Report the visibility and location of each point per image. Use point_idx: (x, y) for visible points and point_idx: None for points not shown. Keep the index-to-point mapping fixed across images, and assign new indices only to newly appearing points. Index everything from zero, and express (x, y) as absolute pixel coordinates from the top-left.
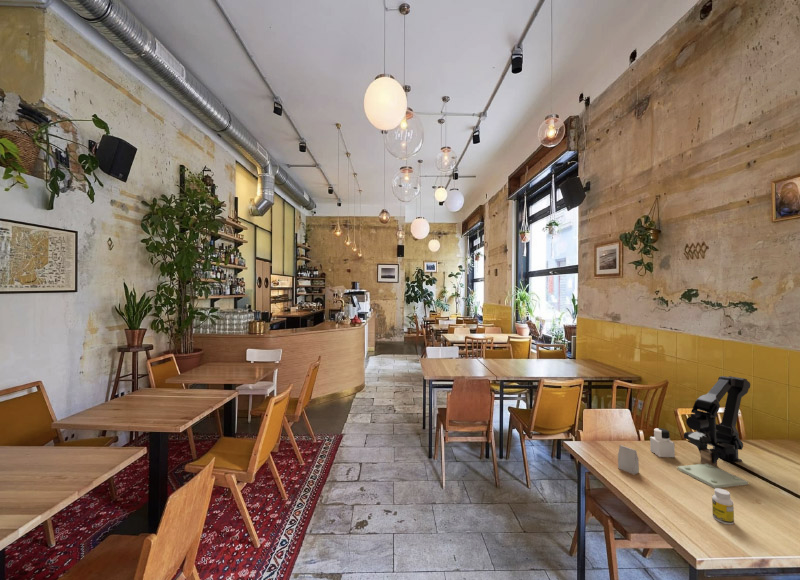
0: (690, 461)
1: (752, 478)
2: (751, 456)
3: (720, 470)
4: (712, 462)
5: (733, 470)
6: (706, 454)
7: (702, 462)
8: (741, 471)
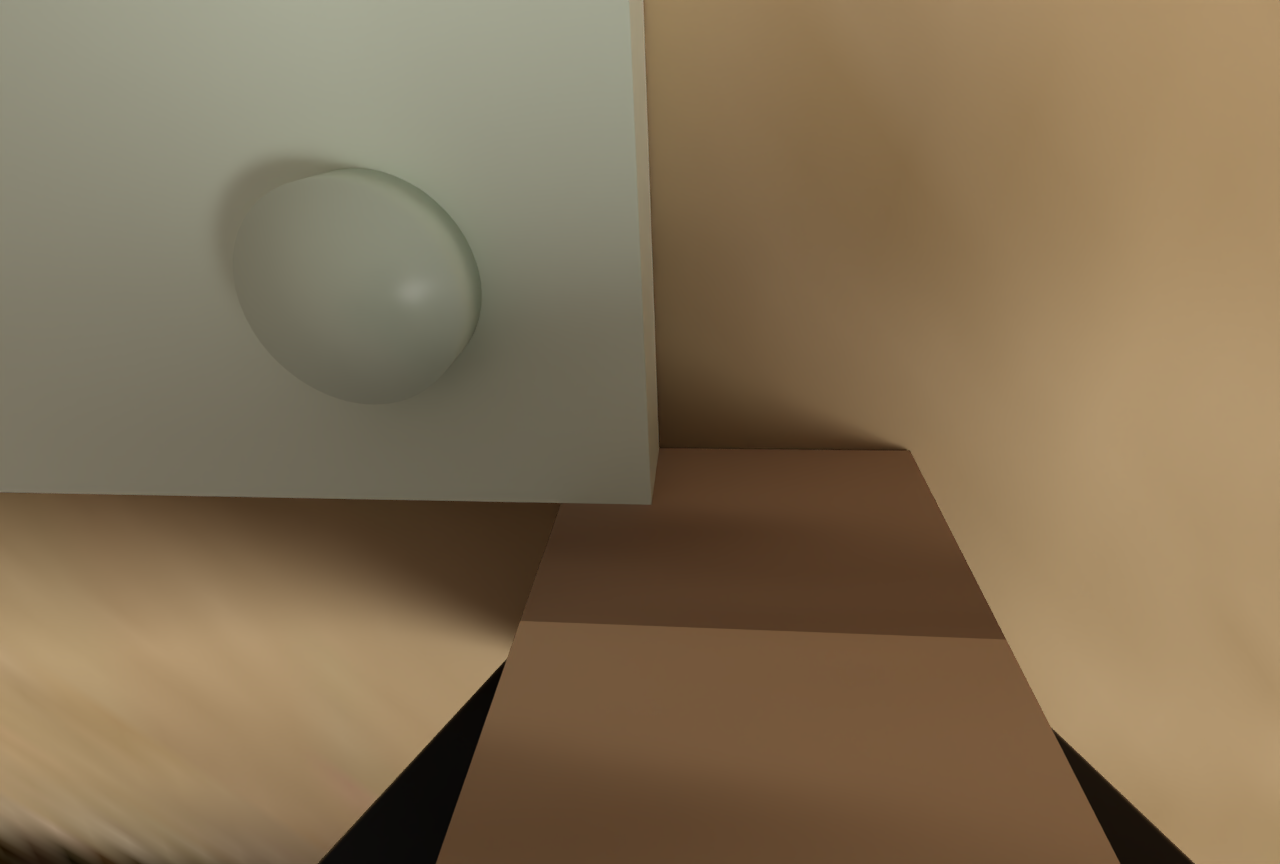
0: (1199, 166)
1: (42, 759)
2: None
3: (61, 401)
4: None
5: (379, 772)
6: None
7: (856, 477)
8: None
